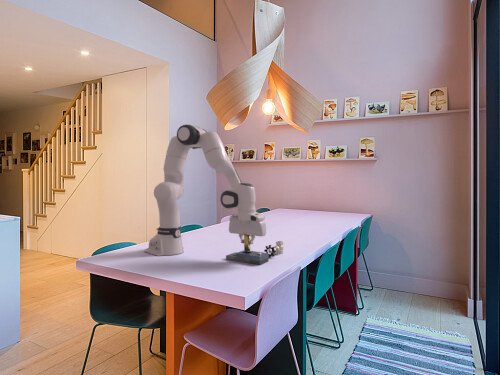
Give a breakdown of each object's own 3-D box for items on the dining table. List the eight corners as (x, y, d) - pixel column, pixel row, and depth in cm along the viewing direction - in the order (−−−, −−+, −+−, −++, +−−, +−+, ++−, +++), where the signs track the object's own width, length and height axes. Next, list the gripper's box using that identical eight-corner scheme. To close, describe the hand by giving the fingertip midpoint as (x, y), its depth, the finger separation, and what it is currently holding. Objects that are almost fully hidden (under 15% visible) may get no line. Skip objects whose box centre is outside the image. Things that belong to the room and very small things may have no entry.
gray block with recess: (226, 259, 170) (225, 250, 170) (235, 256, 177) (235, 247, 177) (260, 265, 159) (260, 255, 159) (268, 261, 166) (268, 252, 166)
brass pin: (241, 250, 167) (241, 232, 167) (246, 248, 170) (245, 231, 170) (248, 251, 165) (248, 233, 165) (252, 249, 168) (252, 231, 168)
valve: (276, 252, 185) (264, 256, 175) (276, 240, 185) (264, 244, 175) (286, 254, 181) (274, 258, 171) (286, 241, 181) (274, 245, 171)
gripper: (226, 215, 170) (226, 242, 171) (261, 218, 159) (261, 247, 160) (233, 213, 175) (233, 240, 176) (267, 216, 164) (267, 244, 165)
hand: (247, 243), depth 168 cm, fingers closed on brass pin, 3 cm apart
